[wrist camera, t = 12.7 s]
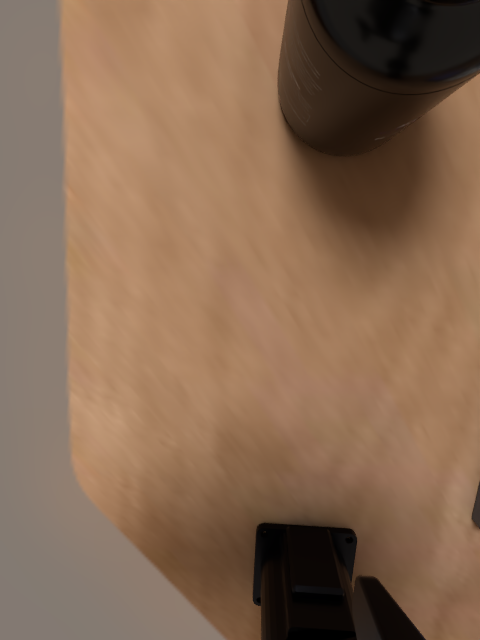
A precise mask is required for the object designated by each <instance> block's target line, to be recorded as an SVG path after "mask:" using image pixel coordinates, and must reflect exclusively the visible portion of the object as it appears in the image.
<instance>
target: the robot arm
mask: <svg viewBox="0 0 480 640" xmlns="http://www.w3.org/2000/svg"><path fill="white" fill-rule="evenodd" d="M263 531H265V533H263ZM347 537H350V538H347ZM356 545H357V537H356V534H355V532H354V531H353V530H352V529H345V528H330V527H315V526H299V525H284V524H268V523H262V524H259V525H258V526H257V529H256V546H255V564H254V583H253V602H254V604H256V605H258V606H261V640H426V639H425V638H424V637H423V636H422V634H421V633H420V632H419V631H418V629H417V628H416V627H415V626H414V624H413V623H412V622H411V620H410V619H409V618H408V617H407V615H406V614H405V613H404V612H403V610H402V609H401V608H400V607H399V605H398V604H397V603H396V602H395V600H394V599H393V598H392V596H391V595H390V594H389V593H388V591H387V590H386V589H385V588H384V586H383V585H382V584H381V583H380V581H379V580H378V579H377V578H375V577H373V576H362V575H359V576H357V578H356V580H355V587H354V592H353V589H352V585H351V581H352V574H353V567H354V560H355V552H356Z"/></svg>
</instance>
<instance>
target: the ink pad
mask: <svg viewBox="0 0 480 640" xmlns="http://www.w3.org/2000/svg"><path fill="white" fill-rule="evenodd" d="M472 519H473V520H474V522H475V523H476V524H477V526H478V527H479V528H480V484H479V488H478V493H477V497H476V501H475V506H474V510H473V514H472Z"/></svg>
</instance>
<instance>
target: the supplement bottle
mask: <svg viewBox="0 0 480 640" xmlns="http://www.w3.org/2000/svg"><path fill="white" fill-rule="evenodd" d="M479 73H480V0H288V4H287V11H286V18H285V24H284V31H283V38H282V44H281V51H280V58H279V67H278V94H279V100H280V104H281V107H282V110H283V113H284V115H285V118H286V120H287V122H288V123H289V125H290V127H291V128H292V129H293V131H294V132H295V133H296V134H297V136H298V137H299V138H300V139H302V140H303V141H304V142H305V143H306V144H308V145H309V146H311V147H312V148H314V149H316V150H318V151H320V152H323V153H326V154H330V155H337V156H351V155H357V154H362V153H365V152H368V151H370V150H372V149H375V148H377V147H378V146H380V145H382V144H384V143H385V142H387V141H388V140H390V139H391V138H392V137H394V136H395V135H397V134H398V133H400V132H401V131H402V130H404V129H405V128H406V127H408V126H409V125H410V124H412V123H413V122H414V121H416V120H417V119H418V118H420V117H421V116H423V115H424V114H425V113H427V112H428V111H429V110H431V109H432V108H433V107H435V106H436V105H437V104H439V103H440V102H441V101H443V100H444V99H446V98H447V97H448V96H450V95H451V94H452V93H454V92H455V91H456V90H458V89H459V88H460V87H462V86H463V85H465V84H466V83H467V82H469V81H470V80H471V79H473V78H474V77H475V76H477V75H478V74H479Z"/></svg>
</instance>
